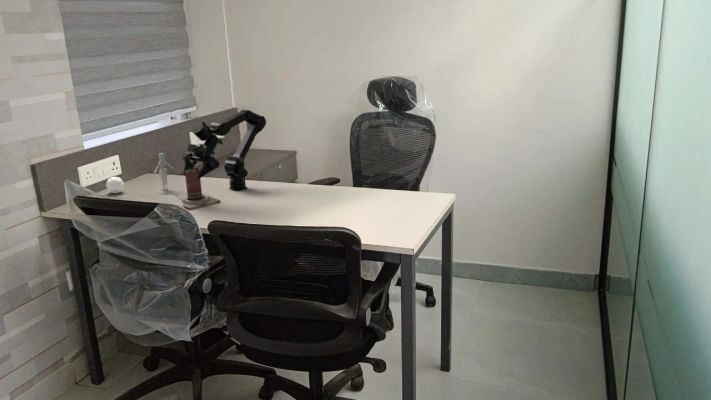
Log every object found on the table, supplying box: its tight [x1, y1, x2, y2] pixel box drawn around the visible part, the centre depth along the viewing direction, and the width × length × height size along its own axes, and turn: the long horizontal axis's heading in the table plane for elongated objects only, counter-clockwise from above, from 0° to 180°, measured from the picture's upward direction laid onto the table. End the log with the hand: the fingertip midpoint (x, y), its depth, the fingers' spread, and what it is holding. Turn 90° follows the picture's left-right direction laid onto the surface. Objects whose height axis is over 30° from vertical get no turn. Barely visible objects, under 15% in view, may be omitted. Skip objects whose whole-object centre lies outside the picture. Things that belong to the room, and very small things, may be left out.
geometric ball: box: [105, 176, 125, 194], centre depth 264 cm, size 8×8×8 cm
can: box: [184, 167, 203, 201], centre depth 245 cm, size 6×6×14 cm
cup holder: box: [179, 193, 221, 211], centre depth 247 cm, size 15×15×2 cm
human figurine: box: [153, 152, 174, 192], centre depth 265 cm, size 12×4×18 cm, turn 152°
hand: (191, 176), depth 242 cm, fingers open, 9 cm apart
